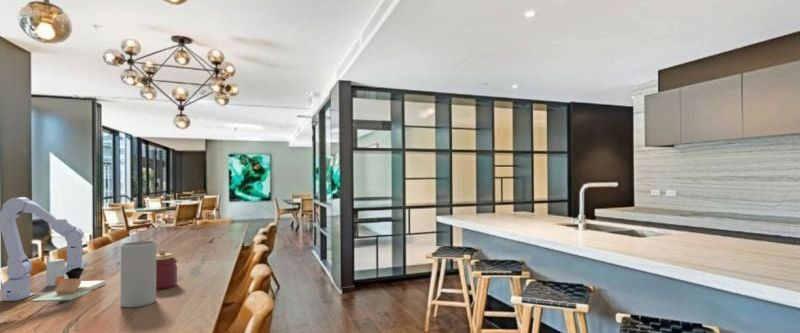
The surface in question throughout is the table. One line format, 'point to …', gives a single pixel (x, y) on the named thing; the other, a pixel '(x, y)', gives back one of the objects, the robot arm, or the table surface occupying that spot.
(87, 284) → the board
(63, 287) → the brick
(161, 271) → the canister
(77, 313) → the table surface
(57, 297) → the mat
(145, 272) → the cylinder vase
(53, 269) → the skincare box
